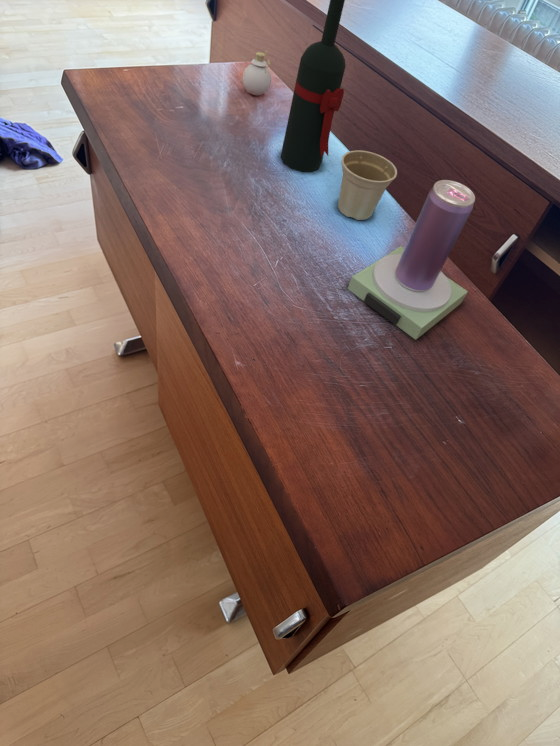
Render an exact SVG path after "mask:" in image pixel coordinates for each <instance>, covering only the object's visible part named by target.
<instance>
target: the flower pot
mask: <svg viewBox="0 0 560 746" xmlns="http://www.w3.org/2000/svg"><path fill="white" fill-rule="evenodd" d="M340 163H341V168H342V169H341V172H342V175H341V176H342V177H341V184H340V190H339V197H338V202H337V209H338V211H339V212H340V213H341V214H342V215H344V216H345V217H347V218H352V219H354V220H357V221H365V220H368V219H370V218H371V217H372V215H373V214H374V211H375V210H376V208H377V206H378V204H379V202H380V201H381V198H382V196H383V195H384V194H385V191H386V189H387V187H389V186H390V185H391V183H392V181H394V180H395V179H396V177H398V169H397V167H396V166H395V164H394V163H393V162H392V161H390V160H389V159H388V158H386V157H384V156H383V155H380V154H378V153H376V152H371V151H368V150H363V149H359V150H358V149H357V150H351V151H348V152H346V153H344V154H343V155H342V157H341V162H340Z"/></svg>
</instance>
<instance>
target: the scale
mask: <svg viewBox="0 0 560 746" xmlns="http://www.w3.org/2000/svg"><path fill="white" fill-rule="evenodd" d="M404 249H405V247H403V246H402V245H400V246H398V247H397V248H396V249H394V250H392V251H391V252H388V253H387V254H385V255H384V256H383V257H381V258H379V259H377V260H376V261H375V262H373V263H371V264H370V265H367V266H366V267H365V268H363V269H362V270H360V271H358V272H356V273H355V274H354V275H352V276H351V278H350V281H349V284H348V286H347V290H348V291H349V292H351V293H352V294H354V295H355V296H356V297H358V298H359V299H360V300H361V301H363V302H364V303H365V304H366V305H367V306H369V307H370V308H371V309H373V310H374V311H375V312H376V313H378V314H380V316H382V317H383V318H384V319H386V320H387V321H389V322H390V323H391V324H393V325H394V326H396V327H398V328H399V329H400V330H402V331H403V332H404V333H406V334H407V335H408V336H410V337H411V338H412V339H414V340H418V339H419V338H420V337H422V336H423V335H424V334H425V333H426V332H428V331H429V330H430V329H431V328H432V327H434V326H435V325H436V324H438V323H439V322H440V321H441V320H442V319H444V318H445V317H446V316H448V315H449V314H450V313H451V312H453V311H454V310H455V309H456V308H457V307H459V306H460V305H461V304H462V303H463V301H464V299H465V297H466V296H467V294H468V292H469V291H468V290H466V289H465V288H463V286H460V285H459V284H458V283H456V282H455V281H453V280H452V279H451V278H449V277H447V276H446V275H445V274H444V272H443V271H442V270H441V271H440V273H439V275H438V277H437V279H436V281H435V283H434V285H433V286H432V287H431V288H430V289H428V290H426V291H422V292H416V291H412V290H409V289H407V288H405V287H404V286H402V285H401V284H400V283H399V281H398V280H397V277H396V268H397V266H398V263H399V261H400V259H401V256H402V254H403V252H404Z"/></svg>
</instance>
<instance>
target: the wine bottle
mask: <svg viewBox="0 0 560 746" xmlns="http://www.w3.org/2000/svg"><path fill="white" fill-rule="evenodd" d="M345 2H346V0H329V4H328V9H327V13H326V18H325V22H324V27H323V31H322V36H321V40H320V41H316V42H313V43H312V44H310V45H309V46H307V48H306V49H305V50H304V52H303V53H302V55H301V57H300V61H299V65H298V71H297V75H296V80H295V84H294V89H293V93H292V99H291V104H290V108H289V113H288V119H287V124H286V127H285V134H284V138H283V143H282V148H281V153H280V156H279V157H280V160H281V161H282V164H283V165H285V166H286V167H288V168H290V169H291V170H294V171H297V172H300V173H314V172H316V171H319V170H320V168H321V166H322V163H323V158H324V154H325V155H326V156H327V157H329V140H330V135H331V129H332V124H333V119H334V115H335V112H338V111H339V110H340V108H341V106H342V102H343V98H344V94H345V89H344V88H342V82H343V78H344V75H345V70H346V67H347V65H346V59H345V56H344V53H342V51H341V50H340V49H339V47H338V46H337V45H336V39H337V35H338V31H339V27H340V23H341V18H342V13H343V10H344V6H345Z"/></svg>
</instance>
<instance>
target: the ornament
mask: <svg viewBox="0 0 560 746" xmlns="http://www.w3.org/2000/svg"><path fill="white" fill-rule="evenodd" d="M264 52H265V53H264ZM264 52H262V51H257V52H256V53H255V54H256V58H253V59H252V60H251V63H250V64H249V65H247V66H246V68H245V69H244V71H243V73H242V84H243V88H245V90H246V91H247V93H249V94H250V95H253V96H262V95H264V94H266V93H267V92H268V91H269V89H270V87H271V85H272V74H271V71H270V69H269V67H268V66H269V65H271V62H270V60H265V59H264V58H265V57H266V54H268V48H266V50H265V49H264Z"/></svg>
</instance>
